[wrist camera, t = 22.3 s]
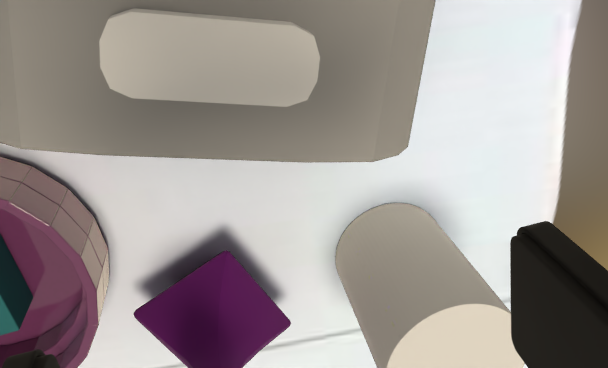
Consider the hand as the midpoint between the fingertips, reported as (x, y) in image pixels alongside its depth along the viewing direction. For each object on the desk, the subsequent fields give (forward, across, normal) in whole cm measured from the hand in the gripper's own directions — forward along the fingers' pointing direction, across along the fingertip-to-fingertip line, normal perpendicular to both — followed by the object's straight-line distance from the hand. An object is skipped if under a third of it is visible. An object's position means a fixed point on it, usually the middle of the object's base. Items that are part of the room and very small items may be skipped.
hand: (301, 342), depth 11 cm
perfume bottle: (+25, +5, +16) cm, 30 cm away
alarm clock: (+26, 0, -3) cm, 26 cm away
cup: (+25, -8, +16) cm, 31 cm away
